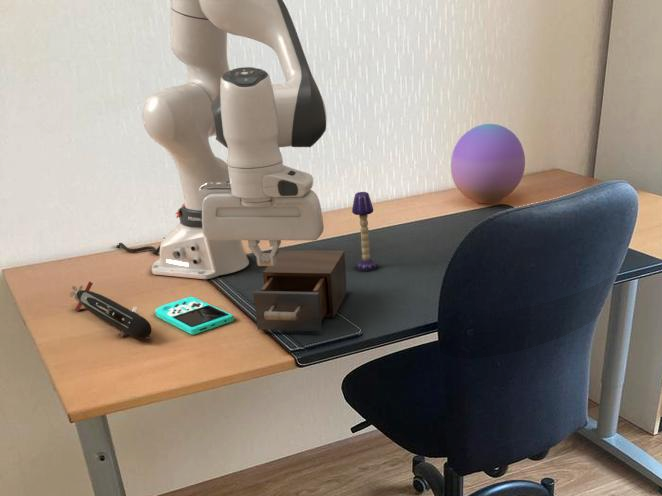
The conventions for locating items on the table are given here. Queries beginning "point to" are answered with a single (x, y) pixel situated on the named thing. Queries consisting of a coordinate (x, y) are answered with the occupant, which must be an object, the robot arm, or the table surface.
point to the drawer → (292, 303)
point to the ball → (487, 163)
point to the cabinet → (314, 271)
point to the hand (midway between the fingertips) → (267, 265)
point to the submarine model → (113, 313)
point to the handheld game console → (193, 315)
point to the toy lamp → (364, 228)
